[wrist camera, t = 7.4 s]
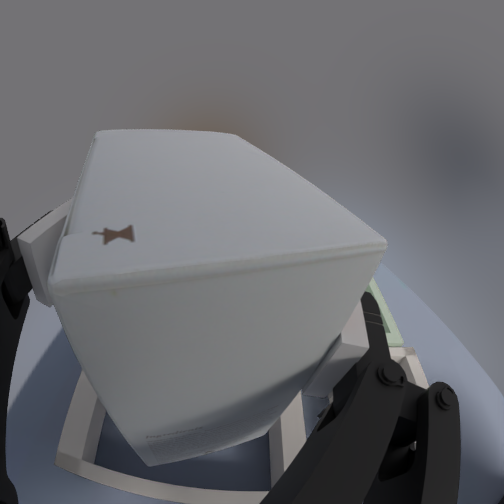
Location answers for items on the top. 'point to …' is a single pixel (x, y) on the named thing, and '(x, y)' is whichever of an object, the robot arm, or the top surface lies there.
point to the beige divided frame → (197, 500)
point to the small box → (202, 285)
